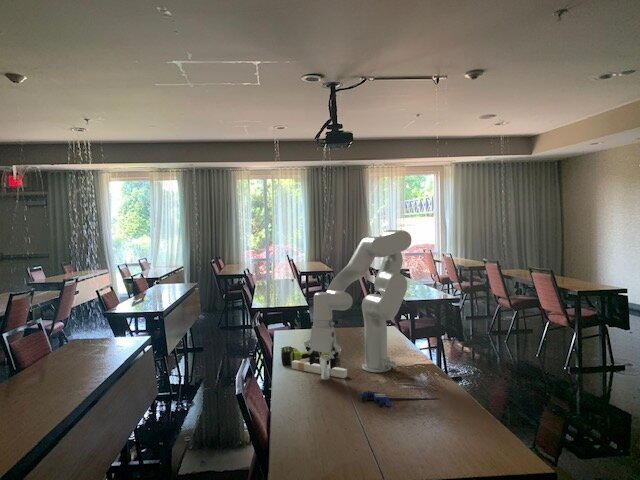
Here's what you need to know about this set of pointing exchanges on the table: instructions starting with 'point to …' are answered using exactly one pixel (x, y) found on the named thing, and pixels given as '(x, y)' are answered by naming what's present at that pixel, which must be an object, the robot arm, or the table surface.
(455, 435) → the table surface
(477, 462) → the table surface
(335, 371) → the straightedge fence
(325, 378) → the milkshake
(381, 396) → the bar clamp
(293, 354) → the cordless drill
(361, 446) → the table surface
